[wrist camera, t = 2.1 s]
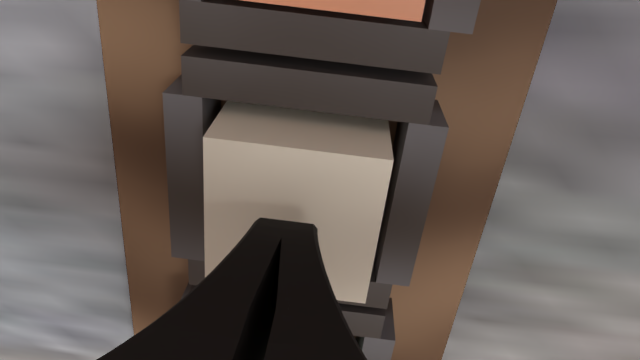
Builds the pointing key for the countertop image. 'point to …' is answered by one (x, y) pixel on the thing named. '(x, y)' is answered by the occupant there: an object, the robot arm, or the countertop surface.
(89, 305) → the countertop surface
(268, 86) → the button panel
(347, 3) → the terracotta button
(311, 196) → the cream button
